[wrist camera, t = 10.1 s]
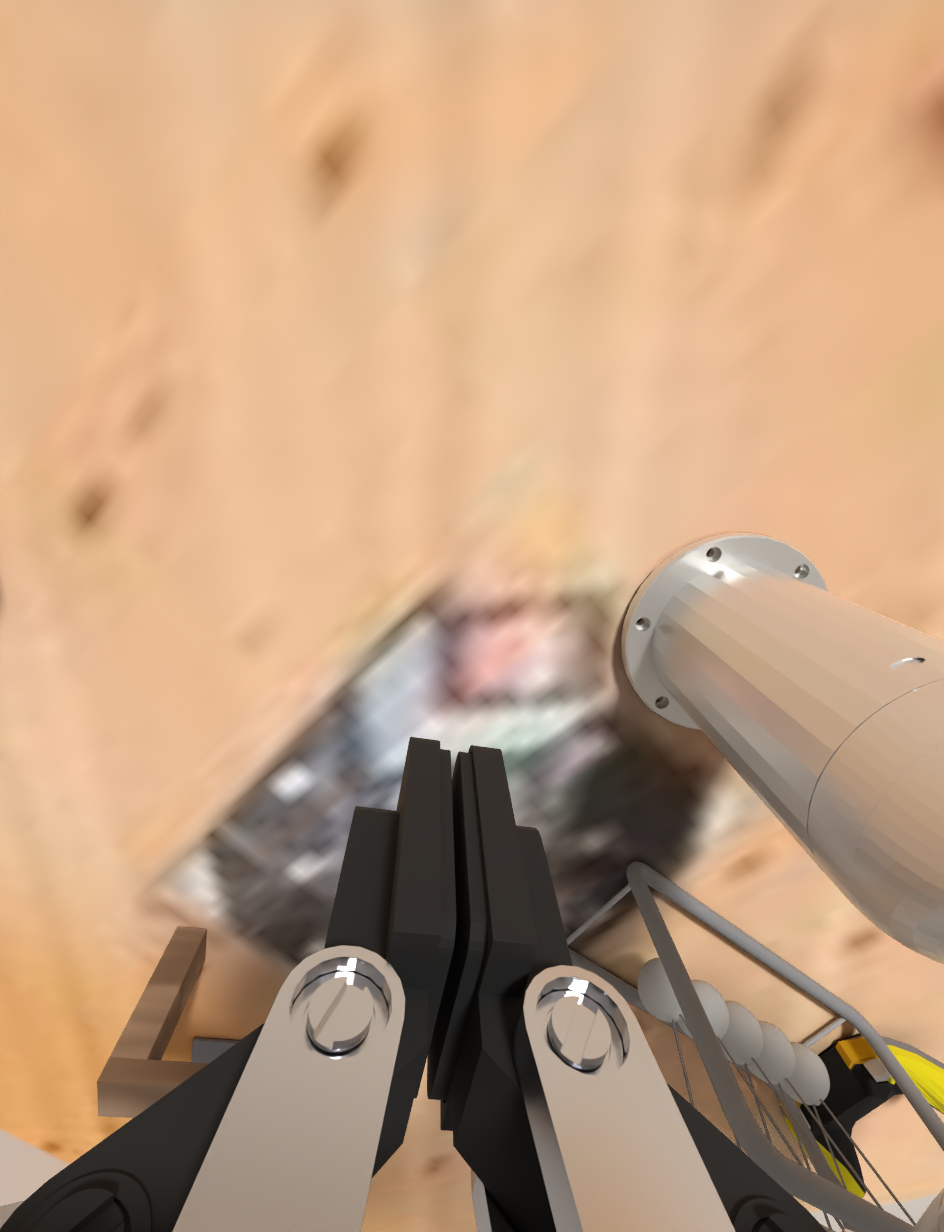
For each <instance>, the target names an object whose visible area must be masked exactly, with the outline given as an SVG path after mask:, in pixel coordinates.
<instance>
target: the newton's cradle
mask: <svg viewBox="0 0 944 1232" xmlns="http://www.w3.org/2000/svg"><path fill="white" fill-rule="evenodd" d="M626 876H627V879H628V883H629V884H628V885H626V886H625V887H624V888H623V889H622V890H621V891H620V892H619V893H617V894H616V895H615V896H614V897H613V898H612V899H611V900H610V901H608V902H607V903H606V904H605V905H604V906H603V907H602V908H601V909H599V910H598V911H597V912H596V913H595V914H594V915H593V916H592V917H590V918H589V919H588V920H587V921H586V922H585V923H584V924H583V925H581V926H580V927H579V928H578V929H577V930H576V931H575V932H574V933H572V934H571V935H570V936H569V937H568V938H567V939H566V940H567V944H568V945H569V944H570V943H571V942H572V941H574V940H575V939H576V938H577V937H578V936H579V935H580V934H581V933H583V932H584V931H585V930H586V929H587V928H588V927H589V926H591V925H592V924H593V923H594V922H595V921H596V920H597V919H598V918H600V917H601V916H602V915H603V914H604V913H605V912H606V911H607V910H609V909H610V908H611V907H612V906H613V905H614V904H615V903H617V902H618V901H619V900H620V899H621V898H622V897H623V896H624V895H626V894H627V893H628V892H629V891H630V890H632V893H633V895H634V897H635V900H636V902H637V905H638V907H639V909H640V912H641V914H642V917H643V919H644V921H645V924H646V926H647V929H648V931H649V933H650V936H651V938H652V941H653V943H654V946H655V948H656V950H657V953H658V955H659V958H654V959H651V960H649V961H648V962H646V963H645V964H644V965H643V967H642V968H641V970H640V972H639V975H638V981H637V987H638V989H636V988H635V987H633V986H631V985H630V984H628V983H626V982H625V981H623V980H621V979H620V978H618V977H616V976H615V975H613V974H611V973H610V972H608V971H606V970H605V969H603V968H601V967H600V966H598V965H596V964H595V963H593V962H591V961H590V960H588V959H586V958H585V957H583V956H581V955H580V954H578V953H576V952H575V951H573V950H572V949H570V948H569V952H570V956H571V960H572V964H573V966H576V967H580V968H582V969H585V970H587V971H590V972H593V973H595V974H596V975H598V976H599V977H601V978H602V979H604V980H605V981H607V982H608V983H609V984H611V985H612V986H613V987H614V988H615V989H616V990H617V992H618V993H619V994H620V995H621V996H622V997H623V998H624V999H625V1000H626V1001H628V1002H630V1003H631V1004H633V1005H635V1006H637V1007H638V1008H640V1009H642V1010H643V1011H645V1012H647V1013H648V1014H650V1015H652V1016H653V1017H655V1018H657V1019H659V1020H660V1021H662V1022H664V1023H665V1024H667V1025H669V1026H670V1027H672V1028H673V1029H674V1034H675V1038H676V1042H677V1046H678V1051H679V1055H680V1059H681V1063H682V1068H683V1072H684V1076H685V1080H686V1085H687V1089H688V1093H689V1097H690V1102H691V1105H692V1106H693V1107H694V1103H693V1099H692V1094H691V1090H690V1086H689V1082H688V1078H687V1074H686V1069H685V1065H684V1061H683V1057H682V1053H681V1048H680V1044H679V1040H678V1036H677V1032H676V1030H677V1031H679V1032H681V1033H682V1034H684V1035H686V1036H687V1037H689V1038H691V1039H692V1040H694V1042H695V1044H696V1047H697V1049H698V1051H699V1054H700V1056H701V1059H702V1061H703V1063H704V1066H705V1068H706V1071H707V1073H708V1075H709V1078H710V1080H711V1083H712V1085H713V1087H714V1090H715V1092H716V1095H717V1097H718V1099H719V1102H720V1104H721V1107H722V1109H723V1112H724V1114H725V1116H726V1118H727V1120H728V1122H729V1124H730V1126H731V1129H732V1131H733V1132H734V1135H735V1139H736V1142H737V1146H738V1148H739V1149H740V1150H741V1147H740V1144H741V1146H742V1147H743V1149H744V1150H745V1152H746V1153H747V1155H748V1156H749V1157H750V1159H751V1160H752V1161H754V1162H755V1163H756V1164H757V1165H758V1166H759V1167H760V1168H761V1169H762V1170H764V1171H765V1172H766V1173H767V1174H768V1175H769V1176H770V1177H771V1178H772V1179H773V1180H775V1181H776V1182H777V1183H778V1184H779V1185H780V1186H781V1187H782V1188H783V1189H784V1190H786V1191H787V1192H788V1193H789V1194H790V1195H791V1196H792V1197H793V1196H795V1197H797V1198H799V1199H801V1200H803V1201H805V1202H807V1203H808V1204H810V1205H812V1206H814V1207H816V1208H818V1209H820V1210H822V1211H823V1213H824V1216H825V1218H826V1221H827V1224H828V1227H829V1228H827V1227H825V1226H823V1225H822V1227H823V1228H824V1229H825V1230H826V1231H827V1232H835V1231H833V1230H832V1228H831V1225H830V1222H829V1219H828V1216H827V1214H826V1213H828V1214H830V1215H832V1216H833V1217H834V1218H835V1220H836V1221H837V1223H838V1225H839V1226H840V1228H841V1229H842V1231H843V1229H844V1227H845V1229H848V1230H851V1231H854V1232H912V1231H913V1229H914V1226H916V1223H915V1222H914V1221H913V1219H912V1218H911V1217H910V1215H909V1214H908V1213H907V1211H906V1210H905V1209H904V1208H903V1206H902V1205H901V1203H900V1202H899V1201H898V1199H897V1198H896V1197H895V1195H894V1194H893V1193H892V1191H891V1190H890V1189H889V1187H888V1186H887V1185H886V1183H885V1182H884V1181H883V1179H882V1178H881V1177H880V1175H879V1174H878V1173H877V1172H876V1170H875V1169H874V1168H873V1166H872V1165H871V1164H870V1162H869V1161H868V1160H867V1158H866V1157H865V1156H864V1154H863V1153H862V1152H861V1150H860V1149H859V1148H858V1146H857V1145H856V1144H855V1142H854V1141H853V1140H852V1138H851V1137H850V1136H849V1134H848V1133H847V1132H846V1130H845V1129H844V1128H843V1126H842V1125H841V1124H840V1122H839V1121H838V1120H837V1118H836V1117H835V1116H834V1114H833V1113H832V1112H831V1110H830V1109H829V1108H828V1107H827V1105H826V1104H825V1103H824V1101H823V1100H825V1098H826V1097H827V1095H828V1093H829V1088H830V1080H829V1075H828V1072H827V1069H826V1067H825V1065H824V1063H823V1062H822V1060H821V1059H820V1057H819V1056H818V1055H817V1054H816V1053H815V1052H814V1051H813V1050H811V1049H810V1048H809V1047H810V1046H811V1045H813V1044H814V1043H815V1042H817V1041H818V1040H820V1039H821V1038H822V1037H824V1036H825V1035H827V1034H828V1033H829V1032H831V1031H832V1030H833V1029H835V1028H836V1027H838V1026H839V1025H840V1024H842V1023H843V1022H845V1021H846V1020H847V1021H849V1022H850V1023H851V1024H852V1025H853V1026H854V1027H855V1028H856V1029H857V1030H858V1031H859V1032H860V1034H861V1035H862V1036H863V1037H864V1038H865V1040H866V1041H867V1042H868V1043H869V1045H870V1046H871V1048H872V1049H873V1050H874V1052H875V1053H876V1055H877V1056H878V1058H879V1059H880V1060H881V1062H882V1063H883V1065H884V1066H885V1068H886V1069H887V1071H888V1072H889V1073H890V1075H891V1076H892V1078H893V1079H894V1081H895V1082H896V1083H897V1085H898V1086H899V1088H900V1089H901V1091H902V1092H903V1093H904V1095H905V1096H906V1098H907V1099H908V1101H909V1102H910V1104H911V1105H912V1106H913V1108H914V1109H915V1111H916V1112H917V1114H918V1115H919V1116H920V1118H921V1119H922V1121H923V1122H924V1124H925V1125H926V1127H927V1128H928V1129H929V1131H930V1132H931V1134H932V1135H933V1137H934V1138H935V1139H936V1141H937V1142H938V1144H939V1145H940V1147H941V1148H942V1150H943V1151H944V1124H943V1122H942V1121H941V1119H940V1118H939V1117H938V1115H937V1114H936V1113H935V1111H934V1110H933V1108H932V1107H931V1106H930V1104H929V1103H928V1101H927V1100H926V1099H925V1097H924V1096H923V1095H922V1093H921V1092H920V1090H919V1089H918V1088H917V1086H916V1085H915V1083H914V1082H913V1081H912V1079H911V1078H910V1077H909V1075H908V1074H907V1072H906V1071H905V1070H904V1068H903V1067H902V1066H901V1064H900V1063H899V1061H898V1060H897V1059H896V1057H895V1056H894V1054H893V1053H892V1052H891V1050H890V1049H889V1048H888V1046H887V1045H886V1043H885V1042H884V1041H883V1039H882V1038H881V1037H880V1035H879V1034H878V1033H877V1032H876V1030H875V1029H874V1028H873V1027H872V1026H871V1025H870V1024H869V1022H868V1021H867V1020H866V1019H865V1018H864V1017H863V1016H862V1015H861V1014H860V1013H859V1012H857V1011H856V1010H855V1009H854V1008H853V1007H851V1006H850V1005H848V1004H847V1003H845V1002H844V1001H842V1000H841V999H840V998H838V997H837V996H835V995H834V994H832V993H831V992H829V991H828V990H827V989H825V988H824V987H822V986H821V985H819V984H818V983H816V982H815V981H814V980H812V979H811V978H809V977H808V976H806V975H805V974H804V973H802V972H801V971H799V970H798V969H796V968H795V967H793V966H792V965H791V964H789V963H788V962H786V961H785V960H783V959H782V958H780V957H779V956H778V955H776V954H775V953H773V952H772V951H770V950H769V949H767V948H766V947H765V946H763V945H762V944H760V943H759V942H757V941H756V940H755V939H753V938H752V937H750V936H749V935H747V934H746V933H744V932H743V931H742V930H740V929H739V928H737V927H736V926H734V925H733V924H731V923H730V922H729V921H727V920H726V919H724V918H723V917H721V916H720V915H718V914H717V913H716V912H714V911H713V910H711V909H710V908H708V907H707V906H706V905H704V904H703V903H701V902H700V901H698V900H697V899H695V898H694V897H693V896H691V895H690V894H688V893H687V892H685V891H684V890H682V889H681V888H680V887H678V886H677V885H675V884H674V883H672V882H671V881H669V880H668V879H667V878H665V877H664V876H662V875H661V874H659V873H658V872H657V871H655V870H654V869H652V868H651V867H649V866H648V865H646V864H644V863H642V862H637V861H635V862H632V863H631V864H630V865H628V867H627V874H626ZM647 884H648V885H649V886H651V887H652V888H654V889H655V890H656V891H658V892H659V893H661V894H662V895H664V896H665V897H667V898H668V899H670V900H671V901H673V902H674V903H676V904H677V905H678V906H680V907H681V908H683V909H684V910H686V911H687V912H689V913H690V914H692V915H693V916H695V917H696V918H698V919H699V920H701V921H702V922H703V923H705V924H706V925H708V926H709V927H711V928H712V929H714V930H715V931H717V932H718V933H720V934H721V935H723V936H724V937H726V938H727V939H728V940H730V941H731V942H733V943H734V944H736V945H737V946H739V947H740V948H742V949H743V950H745V951H746V952H748V953H749V954H751V955H752V956H753V957H755V958H756V959H758V960H759V961H761V962H762V963H764V964H765V965H767V966H768V967H770V968H771V969H773V970H774V971H775V972H777V973H778V974H780V975H781V976H783V977H784V978H786V979H787V980H789V981H790V982H792V983H793V984H795V985H796V986H798V987H799V988H800V989H802V990H803V991H805V992H806V993H808V994H809V995H811V996H812V997H814V998H815V999H817V1000H818V1001H820V1002H821V1003H823V1004H824V1005H825V1006H827V1007H828V1008H830V1009H831V1010H833V1011H834V1012H836V1013H837V1014H839V1015H840V1017H839V1018H838V1019H836V1020H835V1021H833V1022H832V1023H831V1024H829V1025H828V1026H827V1027H825V1028H824V1029H822V1030H821V1031H820V1032H818V1033H817V1034H815V1035H814V1036H813V1037H811V1038H810V1039H809V1040H807V1041H806V1042H804V1043H803V1044H800V1043H796V1042H790V1041H789V1040H788V1038H787V1037H786V1035H785V1034H784V1033H783V1032H782V1031H781V1030H780V1029H778V1028H777V1027H776V1026H774V1025H772V1024H770V1023H768V1022H764V1021H757V1019H756V1018H755V1016H754V1015H753V1014H752V1013H751V1012H750V1011H749V1010H748V1009H747V1008H746V1007H744V1006H743V1005H741V1004H739V1003H737V1002H733V1001H725V1000H724V999H723V997H722V996H721V994H720V993H719V992H718V991H717V990H716V989H715V988H714V987H713V986H711V985H710V984H708V983H706V982H704V981H701V980H690V978H689V975H688V973H687V971H686V969H685V967H684V964H683V962H682V960H681V958H680V956H679V953H678V951H677V949H676V947H675V945H674V942H673V940H672V938H671V936H670V934H669V931H668V929H667V927H666V925H665V923H664V920H663V918H662V916H661V914H660V912H659V909H658V907H657V905H656V903H655V901H654V898H653V896H652V894H651V892H650V890H649V887H648V885H647ZM727 1060H728V1061H730V1062H731V1063H733V1064H734V1065H735V1067H736V1068H737V1070H738V1071H739V1073H740V1074H741V1076H742V1077H743V1079H744V1080H745V1082H746V1084H747V1085H748V1087H749V1088H750V1090H751V1091H752V1093H753V1094H754V1097H755V1100H756V1103H757V1106H758V1109H759V1112H760V1115H761V1119H762V1122H763V1125H764V1128H765V1131H766V1134H767V1137H768V1138H767V1137H766V1135H765V1134H764V1133H763V1131H762V1130H761V1128H760V1127H759V1125H758V1123H757V1122H756V1120H755V1119H754V1117H753V1115H752V1113H751V1111H750V1109H749V1107H748V1105H747V1103H746V1101H745V1098H744V1096H743V1094H742V1092H741V1090H740V1087H739V1085H738V1083H737V1081H736V1079H735V1076H734V1074H733V1072H732V1070H731V1068H730V1065H729V1063H728V1061H727ZM739 1067H740V1068H742V1069H743V1070H745V1071H746V1072H747V1075H748V1078H749V1081H750V1084H751V1085H750V1084H749V1082H748V1081H747V1079H746V1078H745V1076H744V1074H743V1073H742V1071H741V1070H740V1068H739ZM749 1073H750V1074H752V1075H753V1076H755V1077H757V1078H758V1079H760V1080H762V1081H764V1082H765V1083H766V1084H767V1085H768V1086H769V1087H770V1088H771V1089H772V1090H773V1092H774V1093H775V1094H776V1096H777V1097H778V1099H779V1100H780V1102H781V1103H782V1105H783V1107H784V1109H785V1111H786V1113H787V1115H788V1117H789V1119H790V1121H791V1123H792V1126H793V1129H794V1131H795V1134H796V1137H797V1140H798V1143H799V1145H800V1148H801V1151H802V1154H803V1157H804V1159H805V1162H806V1165H807V1168H808V1169H807V1168H805V1167H804V1166H803V1164H802V1163H801V1161H800V1160H799V1158H798V1157H797V1155H796V1154H795V1152H794V1151H793V1149H792V1147H791V1146H790V1144H789V1143H788V1141H787V1140H786V1138H785V1137H784V1135H783V1134H782V1132H781V1131H780V1129H779V1128H778V1126H777V1125H776V1123H775V1122H774V1120H773V1119H772V1117H771V1116H770V1114H769V1113H768V1111H767V1109H766V1108H765V1106H764V1105H763V1103H762V1102H761V1100H760V1099H759V1097H758V1096H757V1094H756V1092H755V1089H754V1086H753V1083H752V1080H751V1077H750V1074H749ZM795 1100H796V1101H798V1102H800V1103H803V1104H804V1105H805V1107H806V1108H807V1110H808V1111H809V1112H810V1114H811V1115H812V1116H813V1118H814V1119H815V1121H816V1122H817V1123H818V1125H819V1126H820V1127H821V1129H822V1132H823V1134H824V1137H825V1139H826V1142H827V1145H828V1147H829V1150H830V1153H831V1155H832V1158H833V1160H834V1163H835V1166H836V1168H837V1171H838V1174H839V1176H840V1179H841V1182H842V1184H843V1185H842V1184H841V1182H840V1181H839V1179H838V1178H837V1177H836V1175H835V1174H834V1172H833V1171H832V1169H831V1168H830V1166H829V1164H828V1162H827V1160H826V1158H825V1157H824V1155H823V1153H822V1151H821V1149H820V1147H819V1145H818V1143H817V1141H816V1139H815V1138H814V1136H813V1134H812V1132H811V1130H810V1128H809V1126H808V1124H807V1122H806V1121H805V1119H804V1117H803V1115H802V1113H801V1111H800V1109H799V1107H798V1105H797V1104H796V1102H795ZM821 1102H822V1103H823V1105H824V1106H825V1107H826V1109H827V1110H828V1111H829V1113H830V1114H831V1115H832V1117H833V1118H834V1119H835V1121H836V1122H837V1123H838V1125H839V1126H840V1127H841V1129H842V1130H843V1131H844V1133H845V1134H846V1135H847V1137H848V1138H849V1139H850V1141H851V1142H852V1143H853V1145H854V1146H855V1147H856V1149H857V1150H858V1151H859V1153H860V1154H861V1155H862V1157H863V1158H864V1159H865V1161H866V1162H867V1163H868V1165H869V1166H870V1167H871V1169H872V1170H873V1171H874V1173H875V1174H876V1175H877V1177H878V1178H879V1179H880V1181H881V1182H882V1183H883V1185H884V1186H885V1187H886V1189H887V1190H888V1191H889V1193H890V1194H891V1195H892V1197H893V1198H894V1199H895V1201H896V1202H897V1203H898V1205H899V1206H900V1207H901V1209H902V1210H903V1211H904V1213H905V1214H906V1215H907V1217H908V1218H909V1219H910V1221H911V1222H912V1223H913V1225H914V1226H912V1225H910V1224H908V1223H906V1222H904V1221H903V1220H901V1219H899V1218H897V1217H895V1216H893V1215H891V1214H890V1213H888V1212H886V1211H884V1210H883V1208H882V1207H881V1206H880V1204H879V1203H878V1202H877V1200H876V1199H875V1198H874V1196H873V1195H872V1193H871V1192H870V1191H869V1189H868V1188H867V1187H866V1185H865V1184H864V1182H863V1181H862V1180H861V1178H860V1177H859V1176H858V1174H857V1173H856V1171H855V1170H854V1169H853V1167H852V1166H851V1165H850V1163H849V1162H848V1161H847V1159H846V1158H845V1156H844V1155H843V1154H842V1152H841V1151H840V1150H839V1148H838V1147H837V1145H836V1144H835V1143H834V1141H833V1140H832V1139H831V1137H830V1136H829V1135H828V1133H827V1132H826V1130H825V1129H824V1128H823V1125H822V1123H821V1120H820V1118H819V1115H818V1112H817V1110H816V1107H815V1105H817V1106H818V1105H820V1104H821ZM759 1103H760V1105H761V1106H762V1108H763V1110H764V1111H765V1113H766V1114H767V1116H768V1117H769V1119H770V1120H771V1122H772V1123H773V1125H774V1126H775V1128H776V1129H777V1131H778V1133H779V1134H780V1136H781V1137H782V1139H783V1140H784V1142H785V1143H786V1145H787V1146H788V1148H789V1149H790V1151H791V1152H792V1154H793V1156H794V1157H795V1159H796V1160H797V1162H798V1163H799V1164H798V1163H796V1162H794V1161H792V1160H790V1159H788V1158H786V1157H785V1156H784V1155H782V1154H781V1153H780V1152H779V1151H778V1150H777V1149H776V1148H775V1147H774V1146H773V1145H772V1142H771V1139H770V1135H769V1132H768V1129H767V1126H766V1123H765V1120H764V1117H763V1114H762V1111H761V1108H760V1105H759ZM807 1105H813V1108H814V1111H815V1113H816V1116H817V1118H818V1119H817V1118H816V1117H815V1115H814V1114H813V1113H812V1111H811V1110H810V1109H809V1107H808V1106H807ZM694 1108H695V1107H694ZM827 1137H828V1138H827ZM828 1139H829V1140H830V1141H831V1143H832V1144H833V1145H834V1147H835V1148H836V1150H837V1151H838V1152H839V1154H840V1155H841V1156H842V1158H843V1159H844V1161H845V1162H846V1163H847V1165H848V1166H849V1167H850V1169H851V1170H852V1172H853V1173H854V1174H855V1176H856V1177H857V1178H858V1180H859V1181H860V1183H861V1184H862V1185H863V1187H864V1188H865V1189H866V1191H867V1192H868V1194H869V1195H870V1196H871V1198H872V1199H873V1201H874V1202H875V1203H876V1205H877V1206H878V1207H877V1206H875V1205H873V1204H871V1203H869V1202H868V1201H866V1200H864V1199H862V1198H860V1197H858V1196H857V1195H855V1194H853V1193H851V1192H849V1191H847V1188H846V1185H845V1183H844V1180H843V1178H842V1175H841V1172H840V1170H839V1167H838V1164H837V1162H836V1159H835V1157H834V1154H833V1151H832V1149H831V1146H830V1144H829V1141H828ZM800 1140H801V1141H800ZM739 1142H740V1143H739ZM801 1142H802V1144H803V1146H804V1148H805V1150H806V1152H807V1154H808V1156H809V1158H810V1160H811V1162H812V1164H813V1166H814V1168H815V1170H816V1172H817V1174H816V1173H814V1172H812V1171H811V1169H810V1166H809V1164H808V1161H807V1158H806V1155H805V1152H804V1150H803V1147H802V1144H801ZM741 1151H742V1150H741ZM793 1198H794V1197H793ZM794 1199H795V1198H794ZM839 1220H841V1221H842V1223H843V1225H844V1227H843V1225H842V1224H841V1222H840V1221H839Z"/></svg>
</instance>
